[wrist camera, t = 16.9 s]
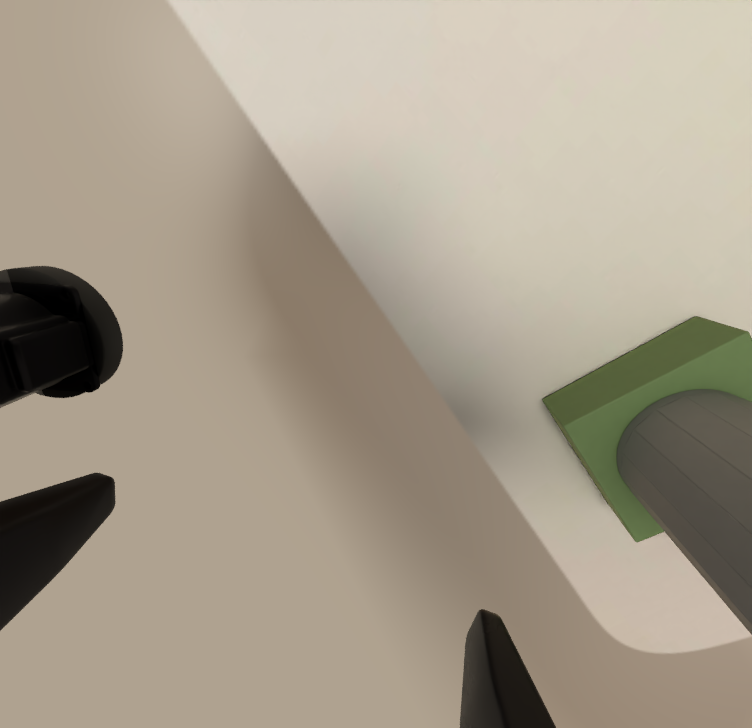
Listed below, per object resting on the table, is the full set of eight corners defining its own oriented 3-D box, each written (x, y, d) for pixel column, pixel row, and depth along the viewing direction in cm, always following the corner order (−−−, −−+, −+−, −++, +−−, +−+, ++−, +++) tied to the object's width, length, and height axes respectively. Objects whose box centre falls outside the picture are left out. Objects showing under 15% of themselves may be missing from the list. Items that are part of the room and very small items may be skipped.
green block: (541, 398, 20) (563, 426, 17) (696, 315, 18) (749, 331, 15) (607, 503, 22) (636, 543, 19) (754, 438, 20) (812, 472, 17)
